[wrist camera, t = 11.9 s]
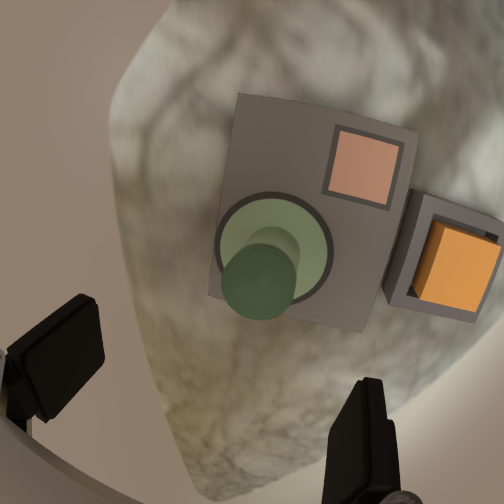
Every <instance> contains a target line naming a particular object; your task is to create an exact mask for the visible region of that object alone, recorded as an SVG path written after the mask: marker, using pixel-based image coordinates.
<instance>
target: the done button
mask: <svg viewBox="0 0 504 504" xmlns="http://www.w3.org/2000/svg"><path fill="white" fill-rule="evenodd" d="M500 249H501V246H499V245H498V244H496V243H495V242H493V241H492V240H490V239H489V238H487V237H485V236H482V235H479V234H477V233H474V232H471V231H468V230H465V229H462V228H459V227H456V226H453V225H450V224H447V223H444V222H441V221H438V220H435V219H433V220H432V223H431V227H430V230H429V233H428V237H427V240H426V243H425V246H424V249H423V252H422V255H421V258H420V261H419V264H418V267H417V270H416V273H415V275H414V278H413V281H412V284H411V285H412V287H413V289H414V290H415V292H416V294H417V296H418V297H419V299H420V300H424V301H428V302H433V303H437V304H441V305H446V306H450V307H454V308H459V309H463V310H468V311H472V312H476V310H477V308H478V306H479V303H480V301H481V299H482V296H483V294H484V292H485V289H486V287H487V284H488V282H489V279H490V277H491V274H492V272H493V269H494V266H495V264H496V261H497V258H498V255H499V252H500Z"/></svg>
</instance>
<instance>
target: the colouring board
mask: <svg viewBox="0 0 504 504" xmlns="http://www.w3.org/2000/svg"><path fill="white" fill-rule="evenodd" d="M419 136H420V134H419V133H416V132H413V131H410V130H407V129H404V128H401V127H398V126H395V125H391V124H388V123H385V122H381V121H378V120H374V119H370V118H367V117H363V116H359V115H355V114H351V113H347V112H343V111H339V110H335V109H330V108H326V107H321V106H316V105H311V104H306V103H301V102H295V101H290V100H284V99H278V98H271V97H264V96H257V95H249V94H241V93H238V99H237V104H236V110H235V116H234V121H233V127H232V133H231V139H230V145H229V151H228V157H227V163H226V169H225V176H224V182H223V188H222V195H221V202H220V208H219V215H218V222H217V229H216V236H215V243H214V251H213V259H212V266H211V274H210V282H209V290H208V296H211V297H215V298H218V299H222V300H225V298H224V296H223V293H222V290H221V276H222V273H223V270H224V268H225V266H226V265H227V264H228V262H229V261H230V260H231V259H232V257H233V256H234V255H235V254H236V253H237V252H238V251H239V250H240V249H242V247H243V246H244V245H245V244H246V242H247V241H248V240H249V239H250V237H251V236H252V235H253V234H254V233H255V232H256V231H258V230H259V229H262V228H264V227H271V226H272V227H279V228H282V229H285V230H286V231H288V232H289V233H291V234H292V235H293V236H294V238H295V239H296V241H297V242H298V245H299V248H300V259H299V264H298V269H297V282H296V288H295V293H294V297H293V300H292V302H291V304H290V306H289V307H288V308H287V309H286V310H285V311H284V312H283V313H282V314H280V315H284V316H288V317H292V318H296V319H301V320H305V321H309V322H313V323H318V324H322V325H326V326H331V327H335V328H340V329H344V330H349V331H354V332H359V333H362V331H363V328H364V326H365V323H366V321H367V318H368V315H369V313H370V310H371V308H372V305H373V302H374V300H375V297H376V294H377V291H378V288H379V286H380V283H381V280H382V277H383V274H384V271H385V268H386V265H387V262H388V259H389V256H390V253H391V249H392V246H393V243H394V240H395V236H396V233H397V229H398V226H399V222H400V219H401V215H402V211H403V208H404V204H405V200H406V196H407V192H408V188H409V184H410V179H411V175H412V170H413V166H414V161H415V156H416V151H417V146H418V141H419Z"/></svg>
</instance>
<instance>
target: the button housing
mask: <svg viewBox="0 0 504 504" xmlns="http://www.w3.org/2000/svg"><path fill="white" fill-rule="evenodd" d="M433 219H435V220H438V221H441V222H444V223H447V224H450V225H453V226H456V227H459V228H462V229H465V230H468V231H471V232H474V233H477V234H479V235H482V236H485V237H487V238H489V239H490V240H492V241H493V242H495V243H496V244H498V245H499V246H501V249H500V252H499V255H498V258H497V261H496V264H495V266H494V269H493V272H492V274H491V277H490V279H489V282H488V284H487V287H486V289H485V292H484V294H483V296H482V299H481V301H480V303H479V306H478V308H477V310H476V312H472V311H468V310H463V309H459V308H454V307H450V306H446V305H441V304H437V303H433V302H428V301H424V300H420V299H419V297H418V296H417V294H416V292H415V290H414V289H413V287H412V285H411V284H412V281H413V278H414V275H415V273H416V270H417V267H418V264H419V261H420V258H421V255H422V252H423V249H424V246H425V243H426V240H427V237H428V233H429V230H430V227H431V223H432V220H433ZM503 253H504V222H502V221H500V220H498V219H496V218H494V217H492V216H489V215H487V214H484V213H481V212H479V211H476V210H474V209H471V208H468V207H466V206H463V205H460V204H457V203H454V202H452V201H449V200H446V199H443V198H440V197H437V196H434V195H431V194H428V193H425V192H422V191H419V190H415V189H411V193H410V197H409V201H408V205H407V208H406V212H405V216H404V220H403V223H402V227H401V230H400V234H399V237H398V240H397V244H396V247H395V250H394V253H393V256H392V259H391V263H390V266H389V269H388V272H387V274H386V277H385V280H384V283H383V286H382V288H383V291H384V293H385V296H386V299H387V301H388V304H389V305H391V306H396V307H400V308H405V309H409V310H414V311H418V312H423V313H428V314H432V315H437V316H442V317H446V318H451V319H456V320H460V321H465V322H470V323H475V321H476V319H477V317H478V315H479V313H480V311H481V309H482V306H483V304H484V302H485V300H486V297H487V295H488V293H489V290H490V288H491V285H492V283H493V280H494V278H495V275H496V273H497V270H498V267H499V265H500V262H501V259H502V256H503Z"/></svg>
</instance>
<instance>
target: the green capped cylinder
mask: <svg viewBox="0 0 504 504" xmlns="http://www.w3.org/2000/svg"><path fill="white" fill-rule="evenodd" d="M299 259H300V248H299V245H298V242H297V241H296V239H295V238H294V236H293V235H292V234H291V233H289V232H288V231H286V230H285V229H282V228H279V227H272V226H271V227H264V228H262V229H259V230H258V231H256V232H255V233H254V234H253V235H252V236H251V237H250V239H249V240H248V241H247V242H246V244H245V245H244V246H243V247H242V249H240V250H239V251H238V252H237V253H236V254H235V255H234V256H233V257H232V259H231V260H230V261H229V262H228V264H227V265H226V266H225V268H224V270H223V273H222V276H221V290H222V293H223V296H224V298H225V300H226V301H227V303H228V304H229V306H230V307H231V308H232V309H233V310H235V311H236V312H237V313H239V314H240V315H242V316H244V317H247V318H250V319H255V320H267V319H272V318H274V317H277V316H279V315H280V314H282V313H283V312H284V311H285V310H286V309H287V308H288V307H289V306H290V304H291V302H292V300H293V297H294V293H295V288H296V282H297V269H298V264H299Z"/></svg>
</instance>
